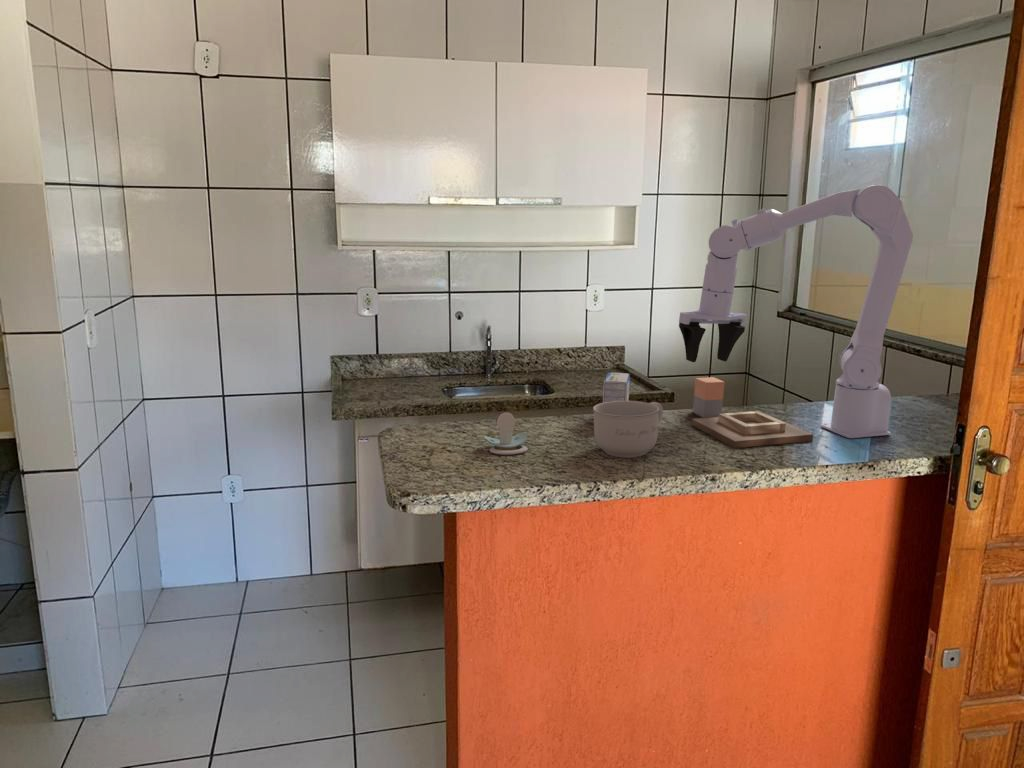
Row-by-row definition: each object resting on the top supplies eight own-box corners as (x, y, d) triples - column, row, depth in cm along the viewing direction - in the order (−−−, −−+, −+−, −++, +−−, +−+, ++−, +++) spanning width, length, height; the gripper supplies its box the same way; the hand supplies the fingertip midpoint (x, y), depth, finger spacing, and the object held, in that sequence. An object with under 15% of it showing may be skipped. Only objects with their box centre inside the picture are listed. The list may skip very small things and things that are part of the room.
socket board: (764, 419, 148) (765, 405, 147) (812, 440, 135) (814, 426, 134) (691, 425, 143) (692, 411, 142) (734, 448, 130) (736, 432, 130)
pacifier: (533, 455, 125) (523, 443, 131) (534, 419, 123) (524, 408, 129) (490, 458, 123) (481, 446, 129) (490, 422, 121) (482, 410, 127)
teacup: (615, 467, 120) (618, 418, 118) (578, 447, 129) (580, 401, 127) (685, 455, 126) (688, 408, 124) (645, 437, 135) (647, 393, 133)
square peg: (710, 411, 153) (713, 377, 152) (721, 416, 150) (724, 381, 148) (692, 412, 152) (695, 378, 150) (703, 417, 148) (706, 382, 147)
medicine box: (625, 428, 141) (628, 382, 139) (601, 426, 141) (603, 380, 139) (627, 416, 148) (630, 373, 146) (604, 414, 149) (607, 371, 147)
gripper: (733, 287, 150) (722, 354, 154) (673, 286, 144) (663, 356, 147) (758, 293, 144) (746, 363, 147) (697, 292, 138) (686, 365, 141)
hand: (706, 360), depth 147 cm, fingers open, 7 cm apart
